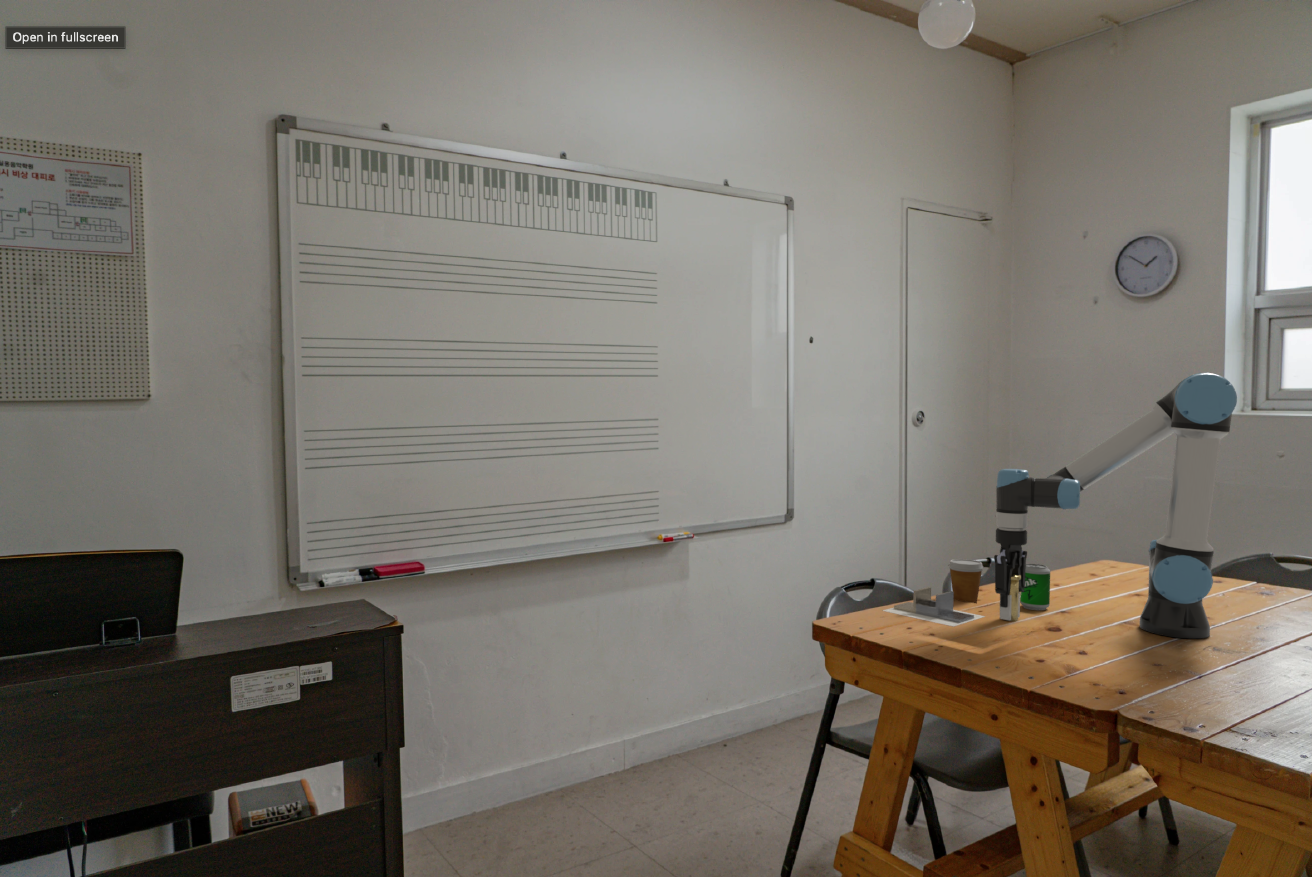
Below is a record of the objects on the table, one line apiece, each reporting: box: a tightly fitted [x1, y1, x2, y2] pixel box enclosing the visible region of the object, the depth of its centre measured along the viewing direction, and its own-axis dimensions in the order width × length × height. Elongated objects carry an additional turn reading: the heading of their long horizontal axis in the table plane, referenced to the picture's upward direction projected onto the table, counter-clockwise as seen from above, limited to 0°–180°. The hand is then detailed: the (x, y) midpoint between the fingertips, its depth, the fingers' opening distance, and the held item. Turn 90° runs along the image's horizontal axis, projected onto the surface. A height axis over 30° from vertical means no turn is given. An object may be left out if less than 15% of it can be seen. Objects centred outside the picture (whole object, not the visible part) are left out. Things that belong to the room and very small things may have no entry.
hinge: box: [893, 586, 974, 623], centre depth 221 cm, size 19×7×6 cm, turn 41°
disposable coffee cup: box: [947, 558, 984, 604], centre depth 238 cm, size 10×10×12 cm
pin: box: [1001, 574, 1021, 622], centre depth 215 cm, size 5×5×13 cm
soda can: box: [1020, 563, 1051, 611], centre depth 233 cm, size 8×8×12 cm
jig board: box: [882, 607, 986, 628], centre depth 221 cm, size 21×16×1 cm
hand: (1009, 617), depth 215 cm, fingers closed on pin, 4 cm apart
